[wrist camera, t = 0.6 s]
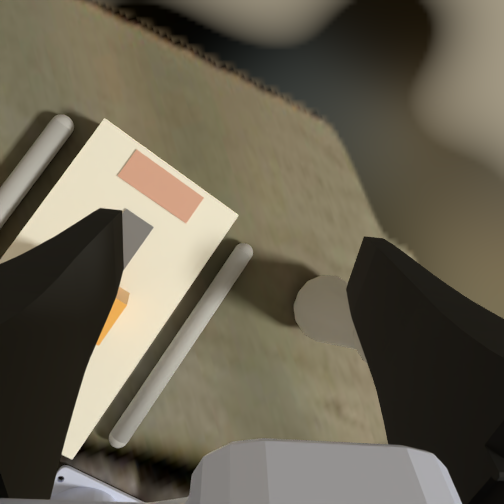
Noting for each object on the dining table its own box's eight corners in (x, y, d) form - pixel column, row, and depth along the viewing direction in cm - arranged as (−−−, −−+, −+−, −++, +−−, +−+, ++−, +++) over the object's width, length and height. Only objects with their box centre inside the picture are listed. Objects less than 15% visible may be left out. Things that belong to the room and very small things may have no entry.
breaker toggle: (105, 327, 30) (98, 345, 26) (42, 290, 29) (23, 302, 24) (129, 293, 30) (127, 305, 26) (68, 255, 29) (54, 260, 25)
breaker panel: (78, 439, 33) (72, 460, 30) (-68, 366, 30) (-90, 381, 28) (230, 216, 35) (238, 215, 32) (108, 127, 33) (104, 117, 30)
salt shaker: (282, 277, 37) (353, 302, 24) (340, 267, 38) (436, 287, 26) (289, 340, 37) (362, 397, 25) (347, 328, 39) (443, 377, 26)
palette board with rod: (122, 444, 34) (121, 455, 33) (-102, 329, 30) (-115, 334, 28) (253, 249, 36) (258, 250, 35) (61, 112, 32) (56, 107, 30)
